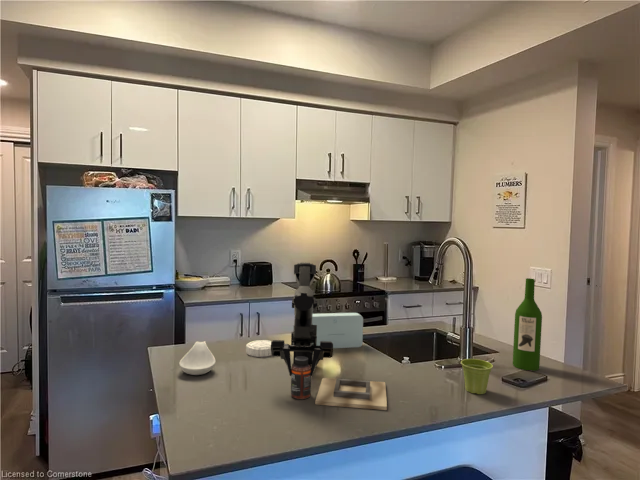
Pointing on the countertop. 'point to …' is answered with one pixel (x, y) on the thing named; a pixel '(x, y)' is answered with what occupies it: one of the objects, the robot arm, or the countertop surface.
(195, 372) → the spoon rest
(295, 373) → the supplement bottle
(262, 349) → the mooncake
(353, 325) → the pale blue rectangular block
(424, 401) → the countertop surface
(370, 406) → the board
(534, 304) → the wine bottle
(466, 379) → the plant pot
